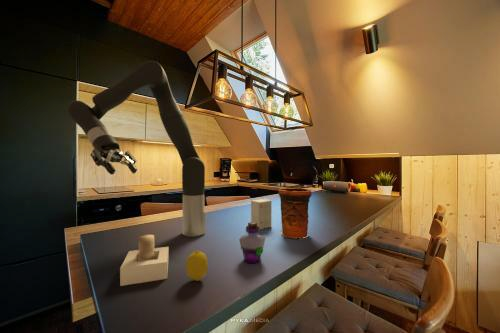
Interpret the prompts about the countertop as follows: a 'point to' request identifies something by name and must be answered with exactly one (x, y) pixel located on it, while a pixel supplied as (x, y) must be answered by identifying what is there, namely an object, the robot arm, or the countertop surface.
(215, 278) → the countertop surface
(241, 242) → the potion bottle
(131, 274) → the socket
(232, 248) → the countertop surface
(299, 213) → the vessel
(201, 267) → the lemon
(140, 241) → the peg
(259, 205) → the small box
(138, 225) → the countertop surface
